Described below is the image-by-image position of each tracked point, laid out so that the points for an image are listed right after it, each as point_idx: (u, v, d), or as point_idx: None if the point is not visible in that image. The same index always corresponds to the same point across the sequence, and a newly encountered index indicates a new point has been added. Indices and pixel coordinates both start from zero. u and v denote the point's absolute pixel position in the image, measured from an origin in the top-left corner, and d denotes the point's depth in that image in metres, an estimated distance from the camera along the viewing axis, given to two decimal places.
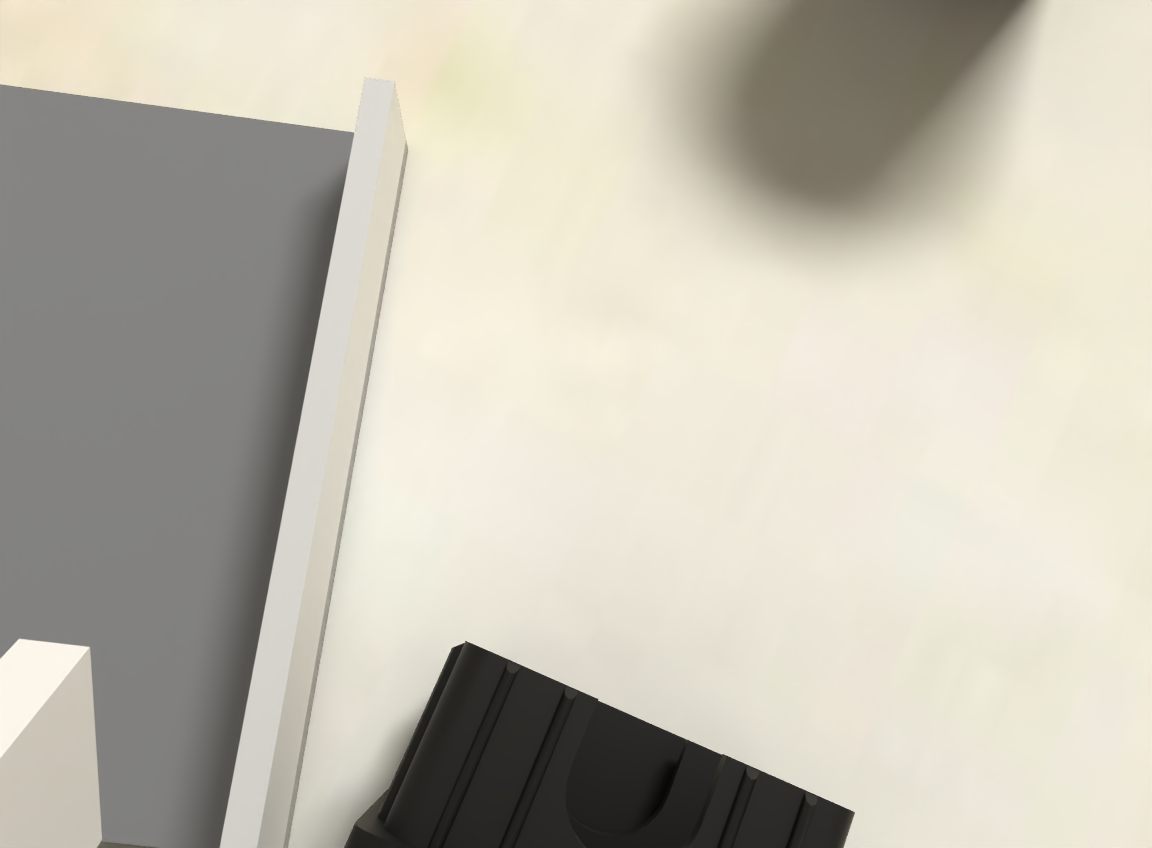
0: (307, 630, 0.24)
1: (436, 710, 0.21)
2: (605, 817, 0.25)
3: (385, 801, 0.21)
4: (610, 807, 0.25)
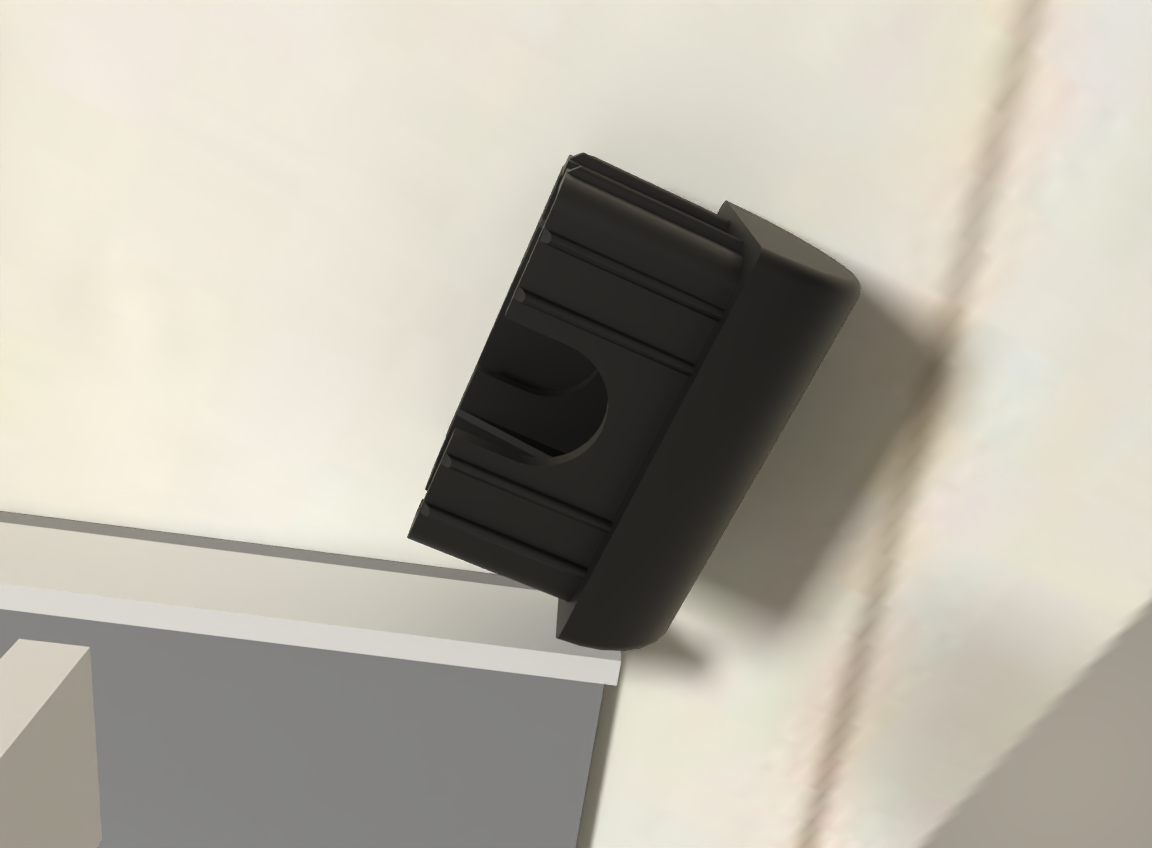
0: (422, 608, 0.27)
1: None
2: None
3: None
4: None
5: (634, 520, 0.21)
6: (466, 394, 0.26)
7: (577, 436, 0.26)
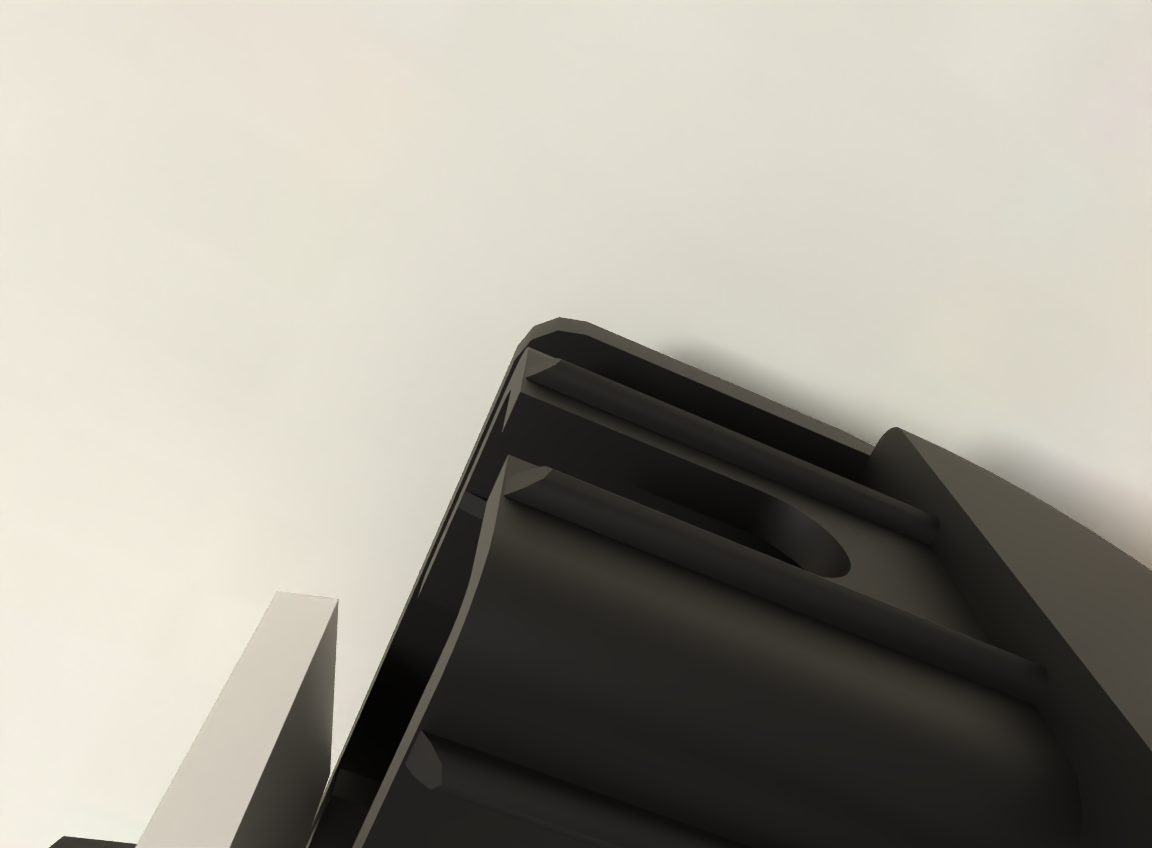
0: None
1: None
2: None
3: None
4: None
5: None
6: (314, 841, 0.12)
7: None
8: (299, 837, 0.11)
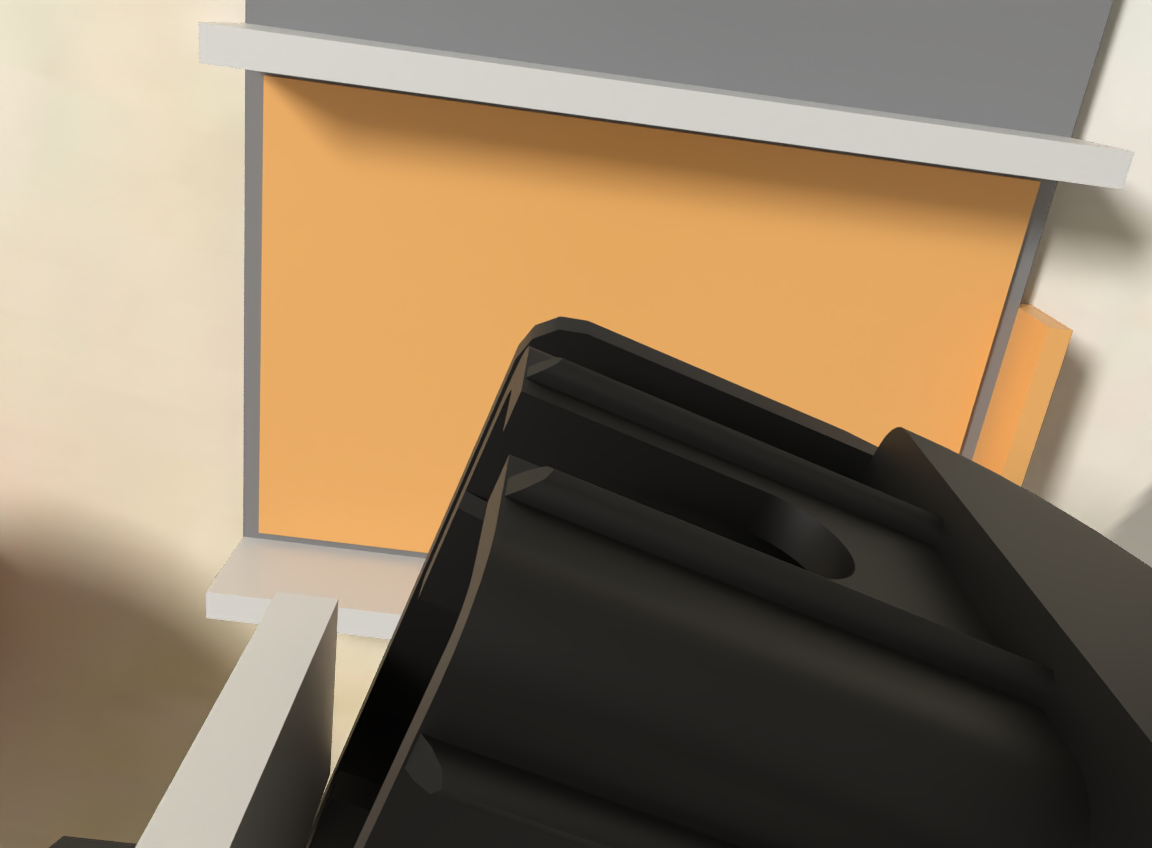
0: None
1: None
2: None
3: None
4: None
5: None
6: (313, 843, 0.12)
7: None
8: (299, 837, 0.11)
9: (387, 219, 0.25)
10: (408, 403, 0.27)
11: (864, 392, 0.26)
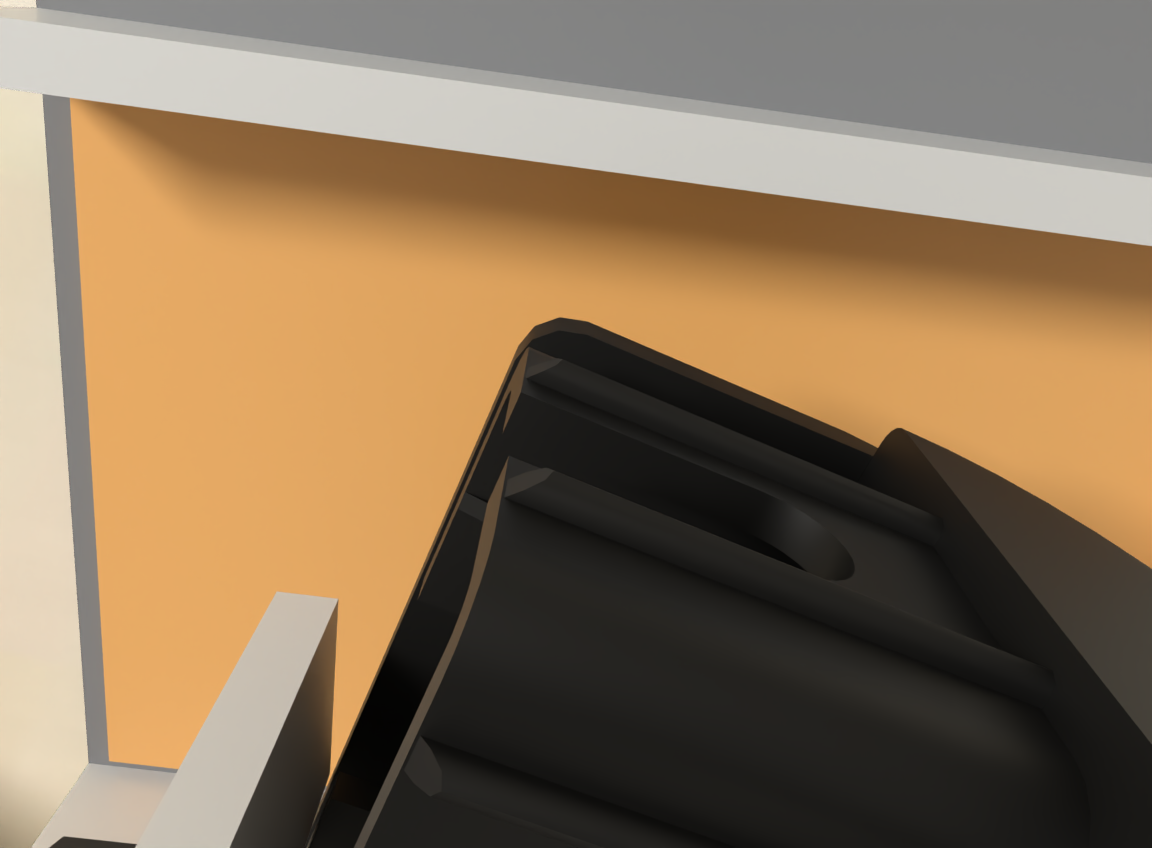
0: None
1: None
2: None
3: None
4: None
5: None
6: (313, 844, 0.12)
7: None
8: (299, 837, 0.11)
9: (279, 318, 0.16)
10: (322, 586, 0.18)
11: None
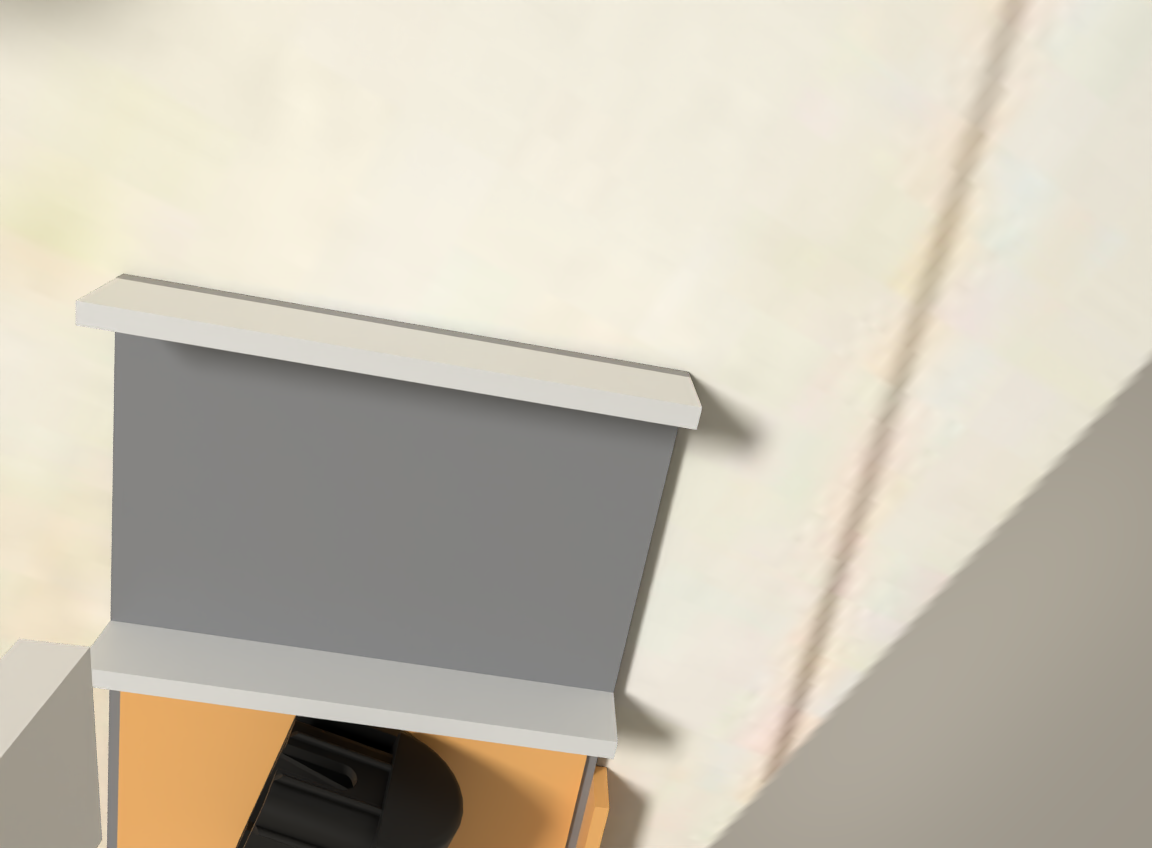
0: (535, 366, 0.33)
1: None
2: None
3: None
4: None
5: None
6: (240, 842, 0.40)
7: None
8: None
9: (198, 721, 0.40)
10: (213, 816, 0.42)
11: (501, 818, 0.42)
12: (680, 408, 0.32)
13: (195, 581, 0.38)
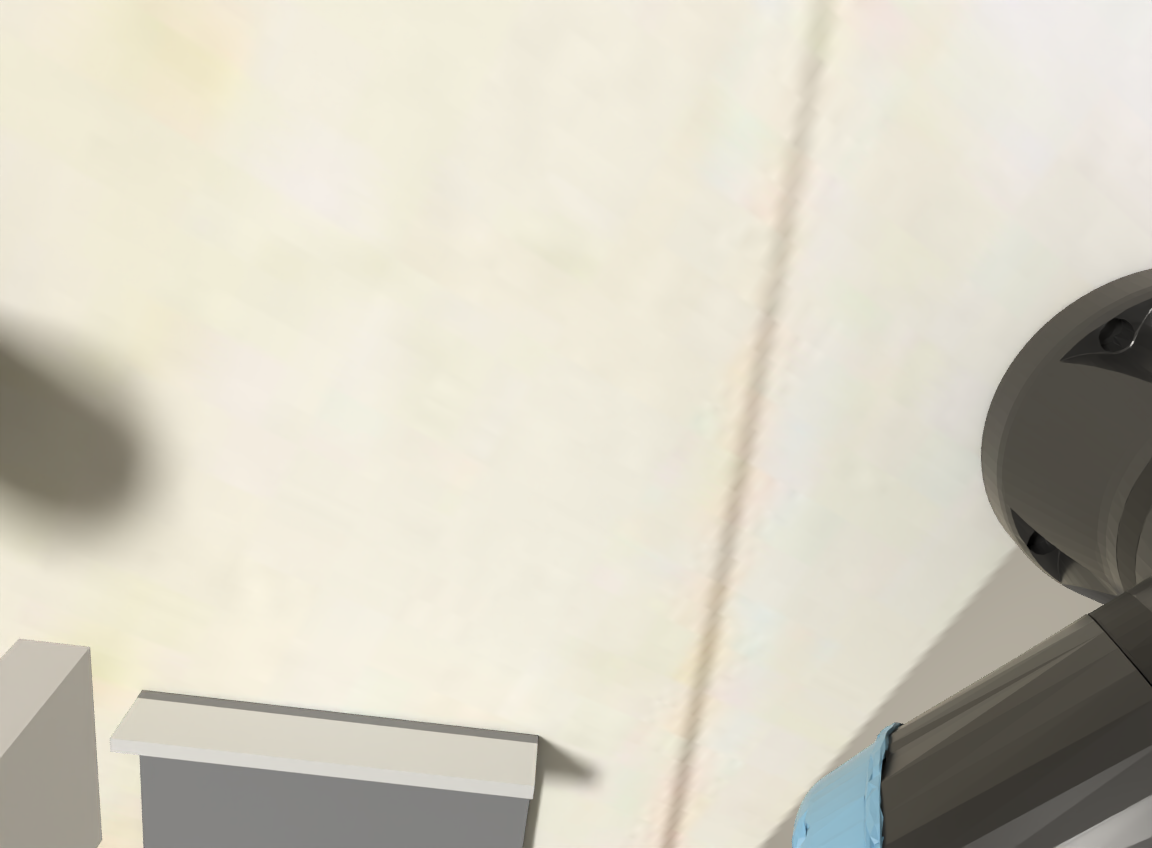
0: (422, 753, 0.48)
1: None
2: None
3: None
4: None
5: None
6: None
7: None
8: None
9: None
10: None
11: None
12: (519, 786, 0.47)
13: None
